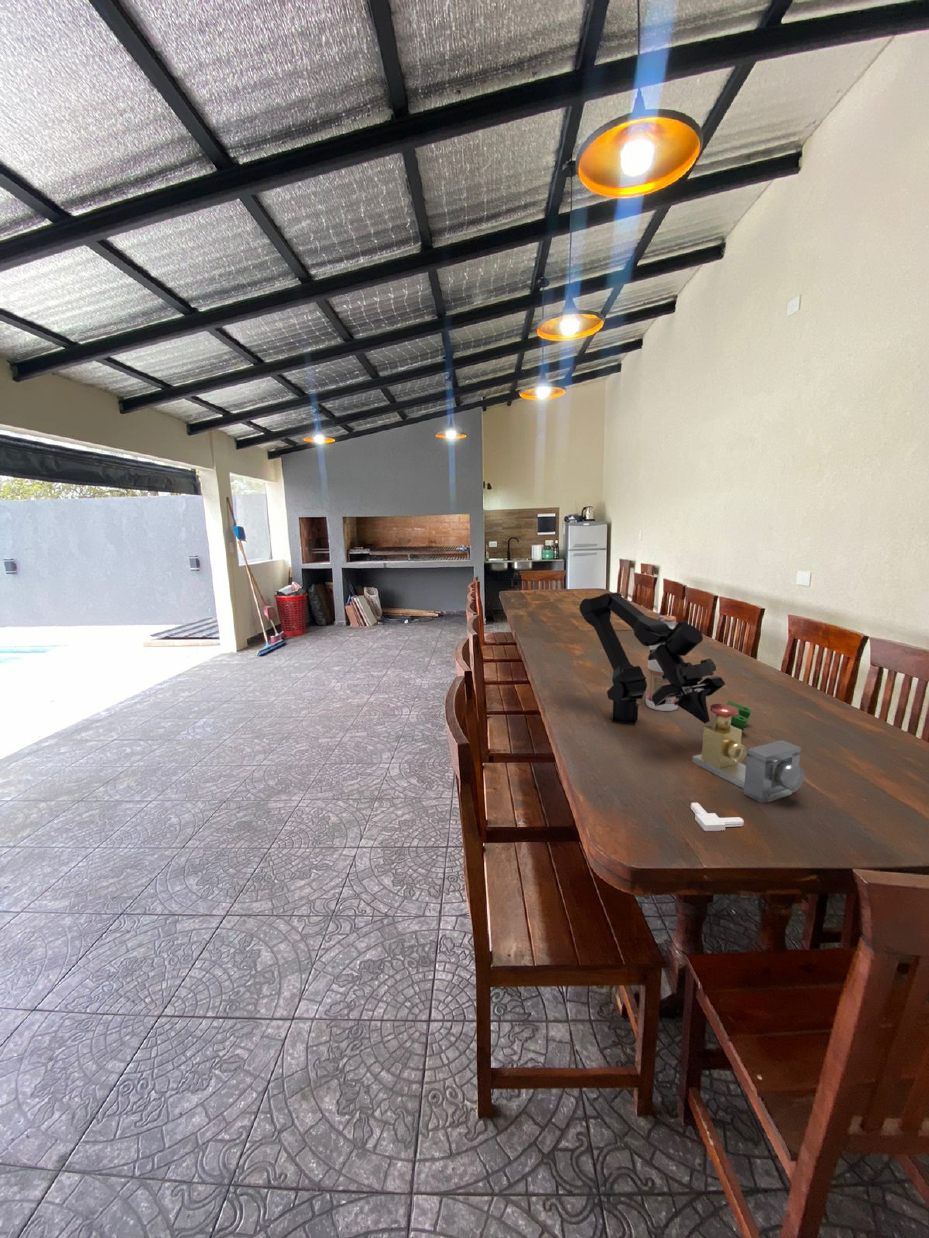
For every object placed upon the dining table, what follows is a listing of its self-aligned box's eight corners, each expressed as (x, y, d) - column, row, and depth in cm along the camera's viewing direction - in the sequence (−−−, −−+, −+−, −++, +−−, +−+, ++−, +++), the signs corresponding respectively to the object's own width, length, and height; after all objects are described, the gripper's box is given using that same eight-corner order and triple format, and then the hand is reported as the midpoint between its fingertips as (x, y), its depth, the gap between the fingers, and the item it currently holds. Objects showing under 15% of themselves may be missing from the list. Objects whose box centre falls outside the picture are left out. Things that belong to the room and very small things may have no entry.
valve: (700, 758, 116) (704, 706, 114) (718, 753, 118) (723, 702, 116) (729, 773, 109) (734, 717, 107) (748, 767, 111) (753, 713, 109)
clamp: (735, 749, 134) (744, 726, 128) (711, 739, 137) (720, 716, 131) (746, 720, 141) (756, 698, 136) (724, 711, 144) (732, 689, 139)
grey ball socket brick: (686, 763, 117) (689, 723, 115) (718, 755, 121) (722, 716, 119) (775, 810, 97) (781, 763, 96) (810, 798, 101) (816, 753, 100)
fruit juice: (639, 702, 157) (644, 614, 152) (665, 699, 160) (670, 613, 154) (658, 713, 148) (663, 620, 143) (685, 709, 151) (691, 618, 145)
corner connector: (724, 807, 100) (724, 800, 99) (747, 831, 92) (748, 823, 91) (684, 809, 99) (684, 801, 99) (704, 833, 91) (705, 825, 91)
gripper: (663, 652, 115) (699, 713, 107) (721, 644, 123) (759, 700, 114) (637, 676, 124) (669, 735, 116) (693, 667, 131) (727, 721, 123)
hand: (707, 722), depth 117 cm, fingers closed
